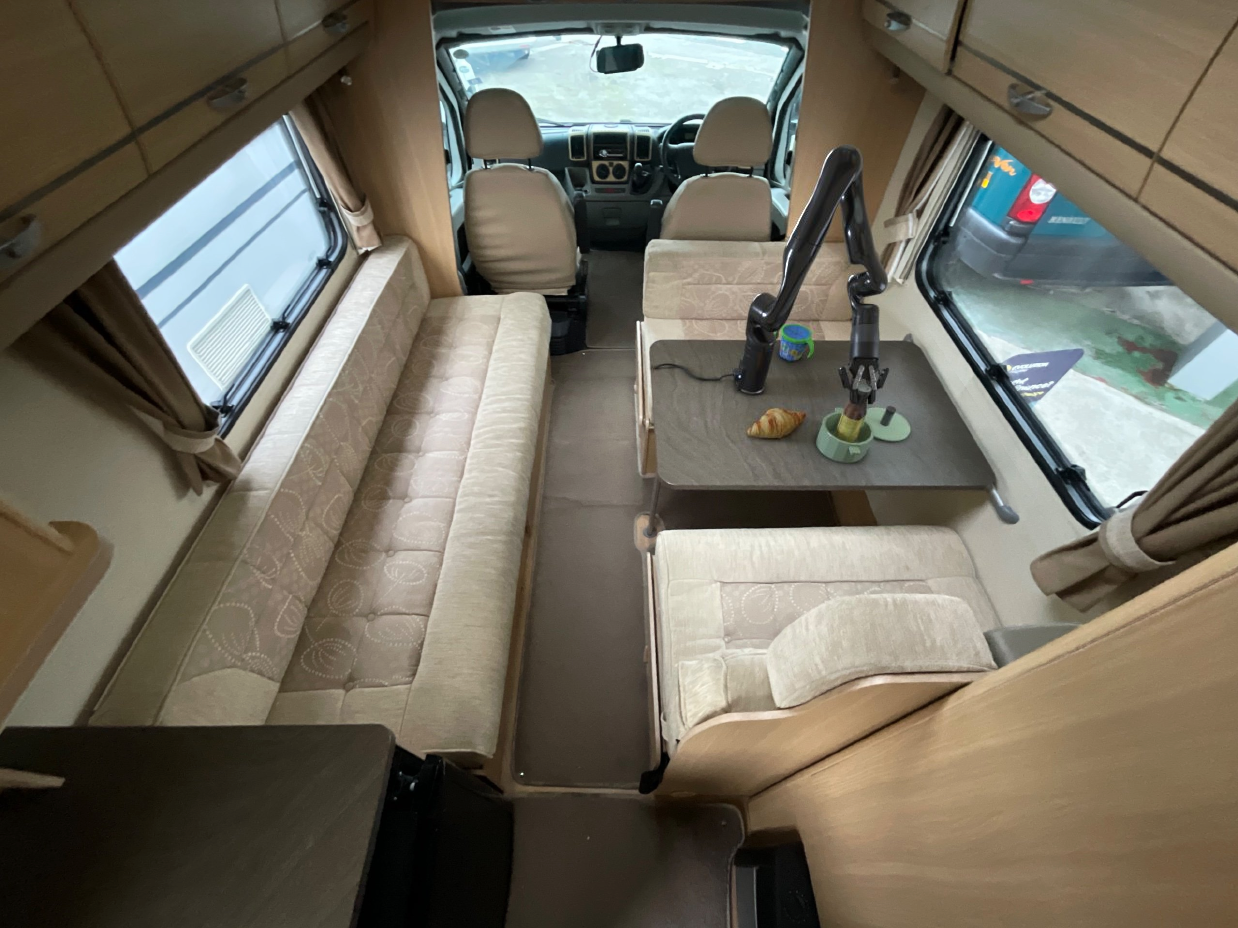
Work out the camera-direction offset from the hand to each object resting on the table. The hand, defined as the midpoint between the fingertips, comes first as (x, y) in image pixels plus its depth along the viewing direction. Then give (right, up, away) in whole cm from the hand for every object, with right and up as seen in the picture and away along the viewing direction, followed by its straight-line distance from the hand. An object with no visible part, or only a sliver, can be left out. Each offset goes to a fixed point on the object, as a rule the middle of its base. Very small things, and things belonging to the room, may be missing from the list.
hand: (862, 403), depth 156 cm
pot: (0, -11, +14) cm, 18 cm away
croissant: (-19, -6, +19) cm, 28 cm away
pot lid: (+16, -4, +21) cm, 26 cm away
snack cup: (-6, +22, +47) cm, 53 cm away
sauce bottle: (0, -10, +13) cm, 16 cm away
